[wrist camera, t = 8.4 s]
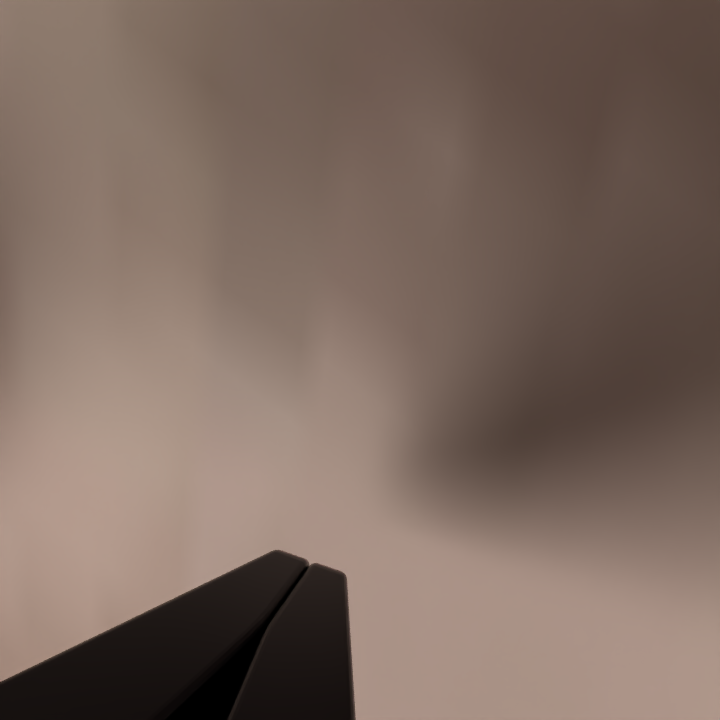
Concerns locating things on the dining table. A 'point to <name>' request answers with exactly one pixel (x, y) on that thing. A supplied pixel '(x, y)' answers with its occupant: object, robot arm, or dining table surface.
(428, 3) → the dining table surface
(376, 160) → the dining table surface
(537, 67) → the dining table surface
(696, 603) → the dining table surface
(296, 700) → the robot arm
